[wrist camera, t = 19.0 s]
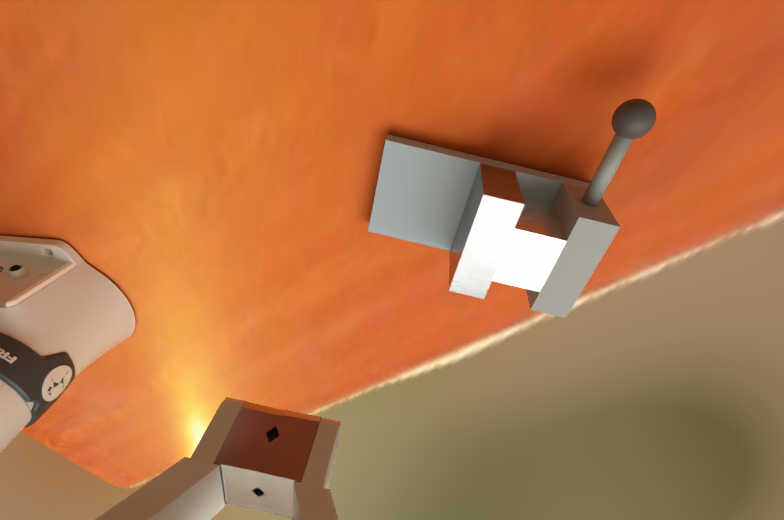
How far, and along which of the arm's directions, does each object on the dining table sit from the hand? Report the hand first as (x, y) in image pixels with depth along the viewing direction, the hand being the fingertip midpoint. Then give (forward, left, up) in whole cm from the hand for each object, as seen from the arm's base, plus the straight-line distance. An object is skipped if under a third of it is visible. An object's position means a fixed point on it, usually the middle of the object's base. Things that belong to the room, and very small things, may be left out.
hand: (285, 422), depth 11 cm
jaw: (+9, -6, -28) cm, 29 cm away
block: (+12, -7, -28) cm, 31 cm away
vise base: (+8, -3, -29) cm, 30 cm away
